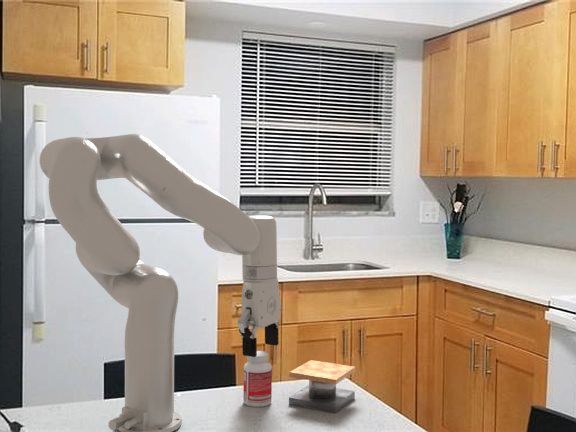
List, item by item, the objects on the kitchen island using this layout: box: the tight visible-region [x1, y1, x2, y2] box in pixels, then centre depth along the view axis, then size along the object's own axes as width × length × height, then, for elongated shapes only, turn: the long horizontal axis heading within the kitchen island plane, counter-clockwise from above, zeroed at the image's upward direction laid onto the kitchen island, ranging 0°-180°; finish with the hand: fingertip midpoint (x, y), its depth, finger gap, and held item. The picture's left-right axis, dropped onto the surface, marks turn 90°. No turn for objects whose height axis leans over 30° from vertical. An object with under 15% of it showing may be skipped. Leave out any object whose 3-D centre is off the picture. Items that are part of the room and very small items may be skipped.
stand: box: [288, 359, 356, 414], centre depth 147 cm, size 11×11×7 cm
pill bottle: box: [243, 350, 273, 408], centre depth 145 cm, size 6×6×11 cm
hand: (261, 350), depth 145 cm, fingers open, 9 cm apart
